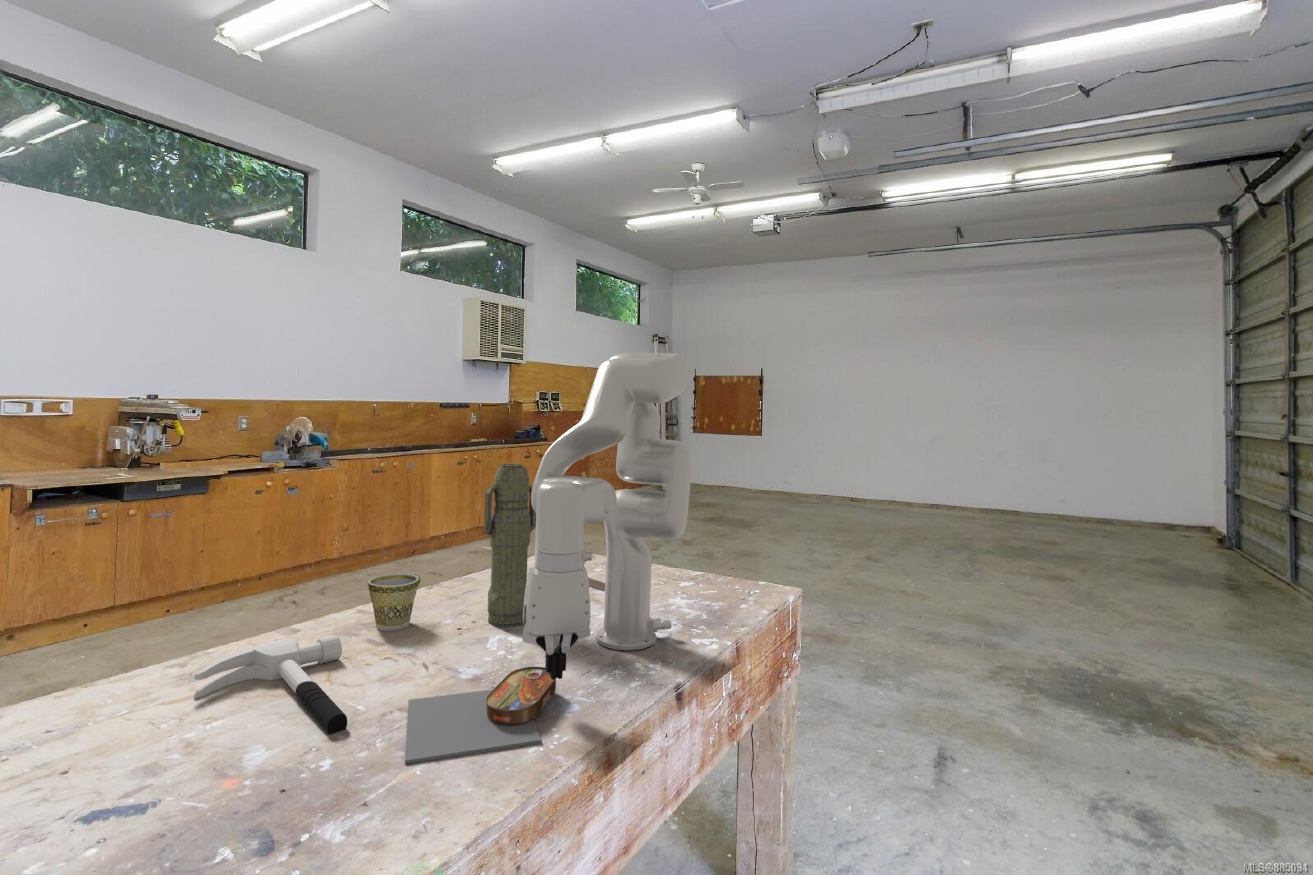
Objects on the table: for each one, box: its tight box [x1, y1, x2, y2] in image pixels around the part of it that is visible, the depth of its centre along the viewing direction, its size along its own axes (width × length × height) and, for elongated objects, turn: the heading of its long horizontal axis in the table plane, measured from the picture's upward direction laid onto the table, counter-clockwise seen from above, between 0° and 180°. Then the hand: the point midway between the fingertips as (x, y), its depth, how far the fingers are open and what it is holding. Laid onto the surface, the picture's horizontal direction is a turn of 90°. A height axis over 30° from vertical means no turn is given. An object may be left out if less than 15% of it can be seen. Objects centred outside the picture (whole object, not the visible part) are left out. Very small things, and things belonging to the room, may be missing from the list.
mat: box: [404, 689, 542, 765], centre depth 94 cm, size 18×18×1 cm
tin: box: [486, 666, 557, 725], centre depth 99 cm, size 15×3×8 cm
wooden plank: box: [588, 577, 605, 592], centre depth 169 cm, size 17×1×5 cm
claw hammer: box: [193, 634, 348, 736], centre depth 98 cm, size 5×22×30 cm
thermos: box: [483, 463, 536, 628], centre depth 138 cm, size 9×12×35 cm
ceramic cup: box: [367, 573, 421, 632], centre depth 134 cm, size 13×10×10 cm
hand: (555, 675), depth 98 cm, fingers closed
